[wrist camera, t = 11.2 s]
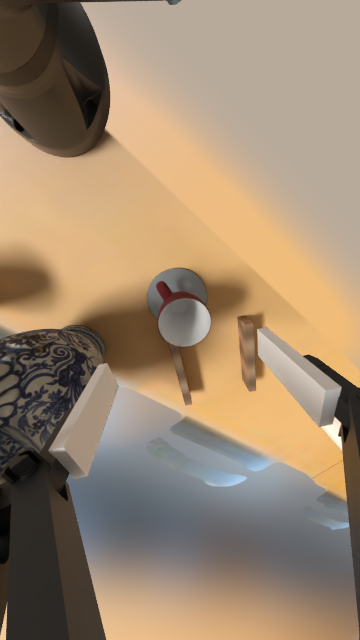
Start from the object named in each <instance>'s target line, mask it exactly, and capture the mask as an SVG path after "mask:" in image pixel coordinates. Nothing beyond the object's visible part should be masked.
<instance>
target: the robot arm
mask: <svg viewBox="0 0 360 640" xmlns="http://www.w3.org/2000/svg"><path fill="white" fill-rule="evenodd" d="M111 1H112V2H113V1H158V0H0V116H1V118H2V119H3V120H4V121H5V122H6V123H7V124H8V125H9V126H10V127H11V128H12V129H13V130H14V131H16V132H17V133H18V134H19V135H21V136H22V137H23V138H24V139H26V140H27V141H28V142H29V143H31V144H32V145H34V146H35V147H37V148H38V149H40V150H42V151H44V152H46V153H49V154H52V155H55V156H61V157H72V156H77V155H80V154H82V153H84V152H86V151H88V150H89V149H90V148H92V147H93V146H94V145H95V144H96V142H97V141H98V140H99V138H100V137H101V135H102V133H103V131H104V129H105V126H106V123H107V120H108V115H109V108H110V87H109V79H108V73H107V68H106V65H105V61H104V58H103V55H102V52H101V49H100V46H99V43H98V40H97V37H96V34H95V32H94V29H93V27H92V25H91V23H90V20H89V18H88V16H87V14H86V12H85V11H84V9H83V7H82V5H81V4H80V2H111ZM159 1H162V0H159ZM167 1H168V3H169V4H170V5H175V4H177V3H178V2H180V1H181V0H167ZM257 336H258V356H259V357H260V358H261V359H262V361H263V362H264V363H265V364H266V365H267V367H268V368H269V369H270V370H271V371H272V372H273V374H274V375H275V376H276V377H277V378H278V380H279V381H280V382H281V383H282V384H283V385H284V387H285V388H286V389H287V390H288V391H289V392H290V394H291V395H292V396H293V397H294V398H295V400H296V401H297V402H298V403H299V404H300V405H301V407H302V408H303V409H304V410H305V411H306V413H307V414H308V415H309V416H310V417H311V418H312V420H313V421H314V422H315V423H316V424H317V425H318V427H322V426H326V425H331V424H333V421H334V417H335V418H336V419H337V420H338V421H339V422H340V423H341V426H340V429H339V433H338V436H339V437H341V441H342V451H343V462H344V473H345V483H346V494H347V504H348V515H349V526H350V536H351V546H352V557H353V568H354V578H355V589H356V600H357V610H358V621H359V640H360V388H358V387H356V386H355V385H353V384H352V383H351V382H349V381H348V380H347V379H345V378H344V377H343V376H341V375H340V374H338V373H337V372H336V371H334V370H332V368H330V367H329V366H327V365H326V364H325V363H323V362H322V361H321V360H319V359H318V358H315V357H313V356H311V355H305V356H302V355H301V354H299V353H298V352H297V351H296V350H294V349H293V348H292V347H291V346H289V345H288V344H287V343H286V342H284V341H283V340H282V339H281V338H279V337H278V336H277V335H275V334H274V333H273V332H272V331H270V330H269V329H268V328H267V327H265V328H260V329H257ZM118 387H119V386H118V384H117V382H116V380H115V378H114V376H113V374H112V372H111V370H110V368H109V366H108V364H107V363H105V364H100V365H98V367H97V368H96V370H95V372H94V373H93V375H92V377H91V379H90V380H89V382H88V384H87V385H86V387H85V389H84V391H83V392H82V394H81V396H80V397H79V399H78V401H77V403H76V404H75V406H74V407H72V408H69V410H68V411H67V412H66V413H65V414H64V415H63V416H62V418H61V419H60V421H59V423H58V425H57V426H56V427H55V429H54V431H53V432H52V434H51V435H50V437H49V439H48V440H47V442H46V443H45V445H44V447H43V448H42V450H41V452H40V453H38V452H37V451H36V450H35V449H34V448H31V447H30V448H27V449H24V450H22V451H21V452H19V453H18V454H17V455H15V456H14V457H13V458H12V459H11V460H10V461H9V462H8V463H7V464H6V466H5V467H4V469H3V470H2V473H1V477H3V478H4V479H5V480H6V482H4V483H2V484H0V633H1V628H2V624H3V619H4V614H5V610H6V605H7V629H6V640H106V637H105V633H104V629H103V625H102V621H101V617H100V612H99V608H98V604H97V600H96V596H95V592H94V588H93V584H92V579H91V575H90V571H89V568H88V563H87V559H86V555H85V551H84V547H83V543H82V539H81V535H80V530H79V526H78V522H77V518H76V514H75V510H74V506H73V501H72V498H71V493H70V489H69V485H68V483H67V482H66V480H67V477H68V475H69V474H70V475H71V476H72V477H73V478H74V479H76V478H81V477H86V476H88V473H89V470H90V467H91V464H92V461H93V458H94V456H95V453H96V450H97V447H98V444H99V441H100V438H101V435H102V433H103V430H104V427H105V424H106V421H107V418H108V415H109V413H110V409H111V407H112V404H113V401H114V398H115V395H116V392H117V390H118Z"/></svg>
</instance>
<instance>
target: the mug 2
mask: <svg viewBox="0 0 360 640" xmlns="http://www.w3.org/2000/svg"><path fill="white" fill-rule="evenodd" d="M340 426H341V423H340V422H339V421H338V420H337V419H336V418H335V417H334V421H333V424H331V425H326V426H322V428H323V429H324V430H325V432H326V433H327V434H328V435H329V436H330V437H331V438H332V440H333V441H334V442H335V443H336V444H337V445H338V446H339V448H340V449H341V450H342V441H341V437H339V436H338V433H339V429H340Z"/></svg>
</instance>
